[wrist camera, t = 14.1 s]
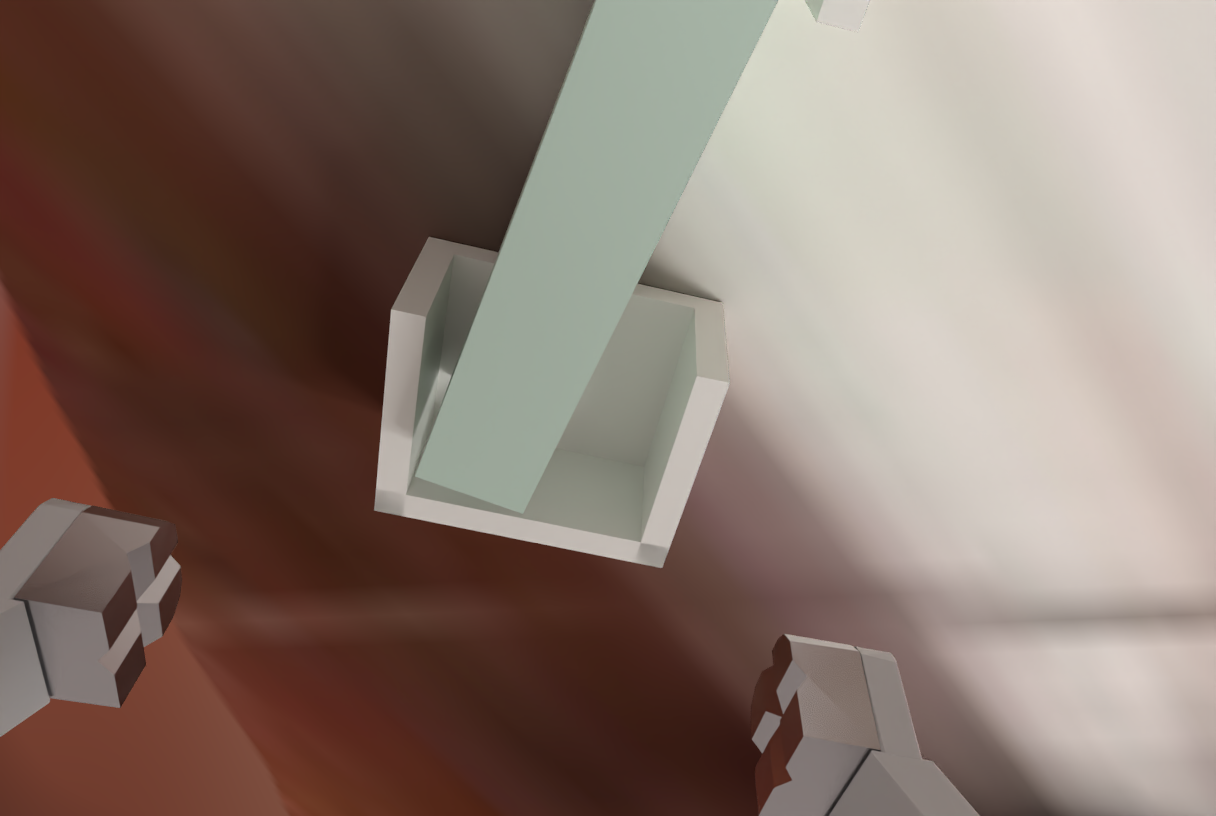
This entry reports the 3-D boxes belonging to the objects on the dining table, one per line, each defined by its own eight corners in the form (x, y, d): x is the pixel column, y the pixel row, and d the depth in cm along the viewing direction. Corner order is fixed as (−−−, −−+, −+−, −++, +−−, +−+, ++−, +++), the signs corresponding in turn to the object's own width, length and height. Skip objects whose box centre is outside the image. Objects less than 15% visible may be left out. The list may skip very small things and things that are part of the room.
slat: (723, -340, 20) (736, -368, 15) (860, -264, 20) (911, -270, 16) (451, 375, 32) (414, 476, 27) (544, 409, 32) (523, 513, 28)
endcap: (663, 478, 35) (662, 568, 31) (408, 424, 34) (374, 510, 30) (723, 302, 30) (730, 383, 26) (428, 236, 29) (390, 309, 25)
